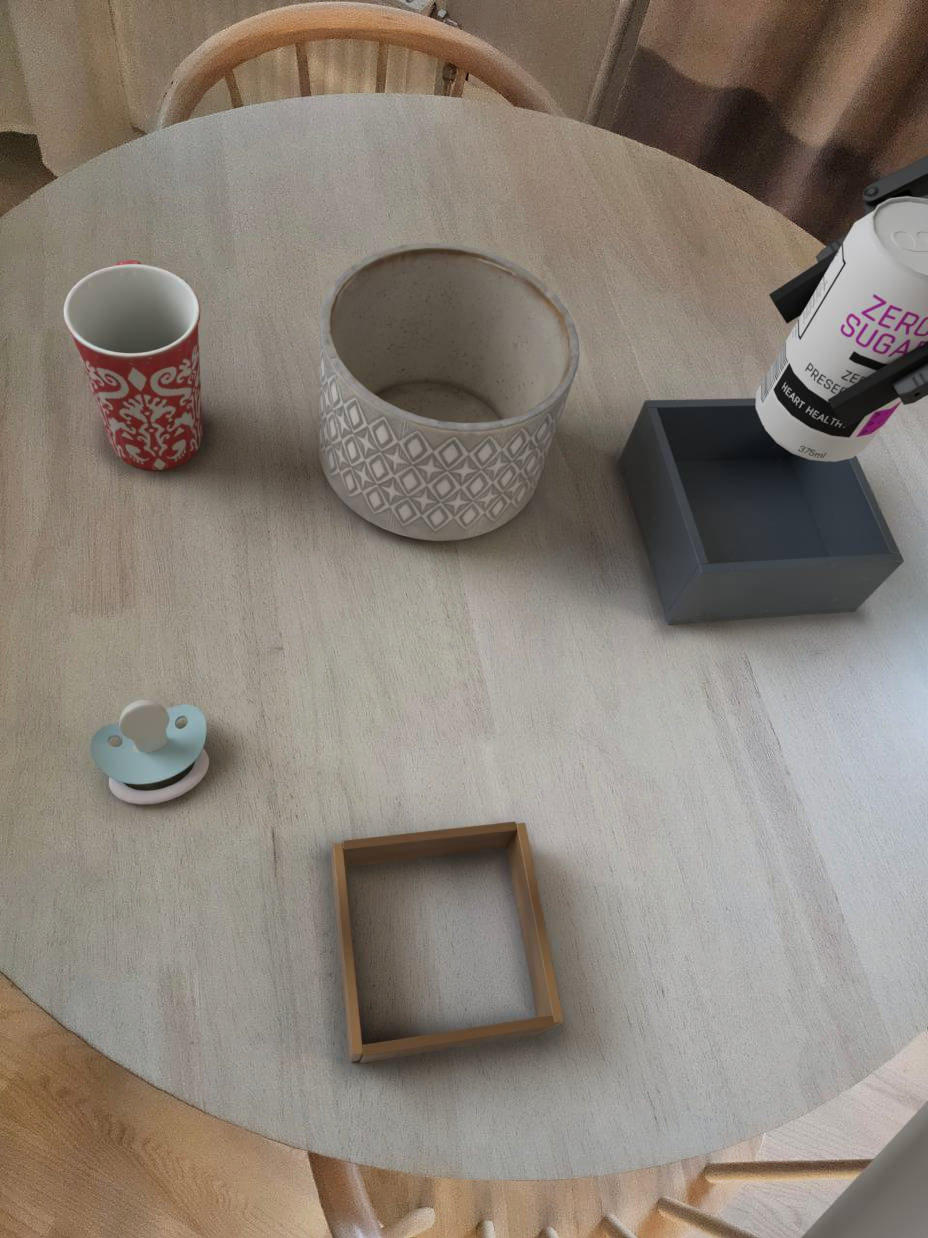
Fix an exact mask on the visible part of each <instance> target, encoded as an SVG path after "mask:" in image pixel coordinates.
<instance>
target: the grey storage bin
mask: <svg viewBox="0 0 928 1238" xmlns="http://www.w3.org/2000/svg"><path fill="white" fill-rule="evenodd" d="M634 422H635V423H634V425H633V427H632V429H631V431H630V433H629V435H628V438H627V440H626V443H625V445H624V447H623V450H622V452H621V454H620V457H619V459H618V463H619V467H620V470H621V473H622V477H623V481H624V485H625V486H626V490H627V493H628V496H629V497H628V498H629V500H630V504H631V507H632V510H633V515H634V517H635V520H636V523H637V526H638V531H639V534H640V536H641V540H642V543H643V547H644V550H645V551H644V552H645V553H646V557H647V561H648V564H649V567H650V570H651V574H652V577H653V581H654V584H655V588H656V590H657V594H658V597H659V600H660V604H661V607H662V611H663V613H664V618H665V621H666V623H667V625H668V626H669V625H682V624H683V625H684V624H685V625H686V624H698V623H712V622H728V621H739V620H740V621H741V620H755V619H756V620H757V619H768V618H769V619H770V618H782V617H783V618H784V617H785V618H786V617H797V616H799V617H800V616H813V615H827V614H839V613H854V612H856V611H857V610H858V609H859V608H860V607H861V606H862V605H863V604H864V603H865V601H866V600H868V599H869V598H870V597H871V596H872V594H874V592H876V590H877V589H879V587H880V586H882V584H884V582H885V581H887V579H889V577H890V576H892V574H893V573H894V572H895V571H896V570H898V568H899V567H900V566H901V565H902V564H903V563H904V562H905V559H904V558H903V555H902V554H901V551H900V549H899V547H898V545H897V542H896V540H895V538H894V535H893V534H892V531H891V529H890V527H889V525H888V523H887V520H886V518H885V516H884V514H883V512H882V509H881V507H880V505H879V503H878V501H877V498H876V496H875V494H874V492H873V490H872V487H871V485H870V484H869V481H868V479H867V476H866V474H865V472H864V470H863V467H862V465H861V463H860V461H859V458H858V457H857V455H856V456H855V457H853V458H850V459H845V460H841V461H836V462H832V461H827V462H826V461H816V460H809V459H806V458H803V457H801V456H798V455H795V454H793V453H791V452H789V451H788V450H786V449H785V448H784V447H782V446H781V445H779V444H778V443H776V441H775V440H774V439H773V438H772V437H771V436H770V435H769V433H768V432H767V431H766V430H765V428H764V426H763V424H762V422H761V420H760V417H759V415H758V413H757V410H756V397H749V398H748V397H747V398H701V399H699V398H697V399H693V398H691V399H647V400H644V402H643V404H642V406H641V409H640V411H639V413H638V415H637V418H636V420H635V421H634Z"/></svg>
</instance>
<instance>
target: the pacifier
mask: <svg viewBox="0 0 928 1238" xmlns="http://www.w3.org/2000/svg"><path fill="white" fill-rule="evenodd" d="M183 718H184V719H186V720H187V722H186V724H185V726H184V727H182V728H178V727H177V726H176V724H177V722H178V721H179V720H180V719H183ZM207 728H208V727H207V721H206V718H205V715H204V714H203V712H202V711H201V709H199V708H198V707H196V706H195V705H192V704H178V705H175V706H172V707H170V708H168V709H167V708H165V707H164V706H163V704H161V703H159V702H157V701H156V700H153V699H145V698H143V699H139V700H135V701H133V702H131V703H130V704H129V705H127V706H126V707H125V708H124V709H123V710H122V713H121V714H120V717H119V721H118V722H113V723H109V724H107V725H105V726H103V727H101V728H99V729H98V730H97V731H96V732H95V733H94V735H93V736H92V738H91V740H90V745H89V749H90V755H91V757H92V759H93V761H94V763H95V765H96V766H97V767H98V768H99V769H100V770H101V771H102V772H103V773H104V775H106V776H107V777H108V787H109V789H110V791H111V793H112V795H114V796H115V798H117V799H119V800H120V801H123V802H126V803H129V804H134V805H155V804H159V803H163V802H164V803H165V802H169V801H171V800H173V799H175V798H178V797H180V796H182V795H184V794H185V793H186V794H187V792H189V791H191V790H193V788H194V787H195V786H197V785H198V784H199V783H200V782H201V781H202V779H203V778H204V777H205V775H206V774H207V771H208V769H209V766H210V759H209V755H208V753H207V751H206V750H205V748H204V746H205V744H206V739H207V733H208V729H207ZM112 738H119V739H121V741H122V742H121V744H120V745H119V746H112V745H110V743H109V741H110V740H111V739H112ZM191 765H193V766H192V769H191V770H190V771H189V772H188V773H187V774H186V775H185V776H184V777H183V778H181V779H180V780H179V781H177V782H175V783H173V784H171V785H168V786H166V787H163V788H158V789H154V790H153V789H152V790H141V789H135V788H132V787H129V786H128V785H127V784H129V785H150V784H156V783H159V782H163V781H166V780H169V779H171V778H173V777H175V776H177V775H179V774H181V773H183V772H184V771H185V770H186V769H188V768H189V767H190V766H191Z"/></svg>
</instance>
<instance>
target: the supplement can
mask: <svg viewBox="0 0 928 1238" xmlns="http://www.w3.org/2000/svg"><path fill="white" fill-rule="evenodd" d="M848 232H849V233H848ZM848 232H847V233H848V235H847V237H846V239H845V240H844V242H843V244H842V245H841V247H840V249H839V251H838V252H837V254H836V256H835V257H834V259H833V261H832V263H831V264H830V266H829V268H828V270H827V271H826V273H825V275H824V276H823V278H822V280H821V282H820V283H819V285H818V287H817V288H816V290H815V292H814V294H813V295H812V297H811V299H810V301H809V302H808V304H807V306H806V307H805V309H804V311H803V313H802V314H801V315H800V316H799V317H798V318H797V319H798V320H797V321H796V323H795V325H794V326H793V328H792V330H791V332H790V333H789V334H788V337H787V338H786V340H785V342H784V343H783V345H782V347H781V349H780V350H779V352H778V354H777V355H776V356H775V357H776V358H775V359H774V360H773V363H771V366H770V368H769V369H768V371H767V373H766V375H765V376H764V378H763V380H762V381H761V383H760V384H759V387H758V388H757V390H756V392H755V398H756V410H757V413H758V415H759V417H760V420H761V422H762V424H763V426H764V428H765V430H766V431H767V432H768V433H769V435H770V436H771V437H772V438H773V439H774V440H775V441H776V443H778V444H779V445H781V446H782V447H784V448H785V449H786V450H788V451H789V452H791V453H793V454H795V455H798V456H801V457H803V458H806V459H809V460H816V461H826V462H827V461H832V462H836V461H841V460H845V459H850V458H853V457H855V456H857V455H859V454H860V453H862V452H863V451H864V450H866V449H867V447H868V446H869V444H870V443H871V442H872V441H873V440H874V439H875V437H876V436H877V434H878V433H879V432H880V431H881V429H882V428H883V427H884V425H885V424H886V422H888V420H889V419H890V418H891V416H892V415H893V414H894V412H895V411H896V410H897V409H898V407H899V406H901V403H902V401H901V399H900V398H897V399H895V400H894V401H892V402H890V403H888V404H886V405H885V406H883V407H881V408H879V409H878V410H876V411H874V412H872V413H871V414H869V415H867V416H865V417H863V418H862V419H860V420H858V421H856V422H855V423H853V424H851V425H849V426H848V427H846V428H845V427H844V426H843V424H842V423H841V421H840V420H839V418H838V417H837V415H836V414H835V412H834V411H833V409H832V407H831V405H830V404H829V402H828V399H830V398H831V397H833V396H835V395H836V394H838V393H840V392H842V391H843V390H845V389H847V388H848V387H850V386H852V385H854V384H855V383H857V382H859V381H860V380H862V379H864V378H866V377H867V376H869V375H871V374H872V373H874V372H876V371H877V370H879V369H881V368H883V367H884V366H886V365H888V364H889V363H891V362H893V361H895V360H896V359H898V358H900V357H901V356H903V355H905V354H907V353H908V352H910V351H912V350H913V349H915V348H917V347H919V346H921V345H923V344H925V343H926V342H928V199H923V198H916V197H909V196H905V197H897V198H890V199H888V200H886V201H884V202H883V203H881V204H879V205H878V206H877V207H876V209H875V210H874V211H873V212H871V213H869V214H868V215H866V216H865V215H864V216H863V217H861V218H860V219H858V220H856V221H855V222H854V223H853V225H852V226H851V228H850V230H849V231H848Z"/></svg>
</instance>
